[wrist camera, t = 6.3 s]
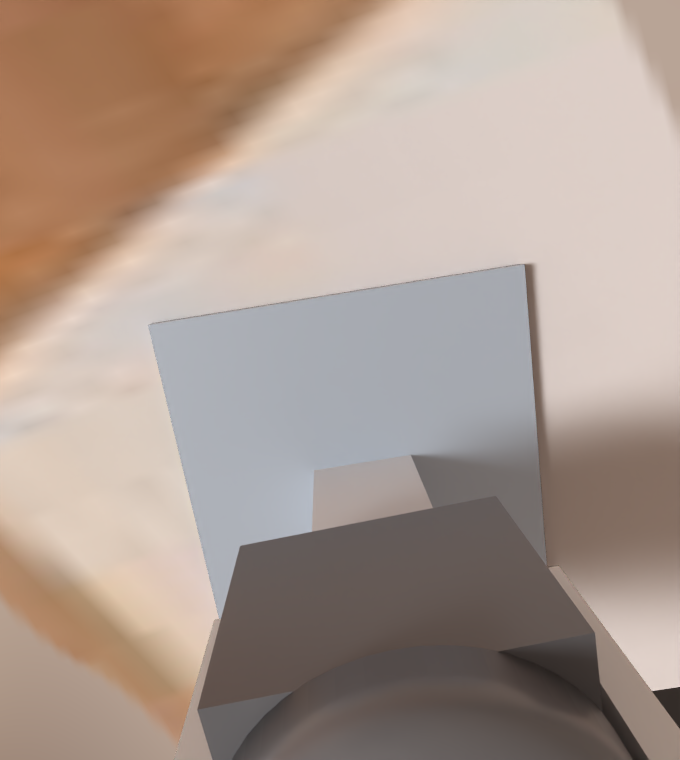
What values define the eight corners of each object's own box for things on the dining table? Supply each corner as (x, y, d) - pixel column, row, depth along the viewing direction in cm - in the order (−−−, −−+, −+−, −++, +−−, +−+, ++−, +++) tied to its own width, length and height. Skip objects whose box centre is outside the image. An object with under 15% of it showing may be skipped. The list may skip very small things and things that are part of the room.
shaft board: (151, 323, 19) (94, 350, 14) (520, 263, 19) (587, 271, 14) (242, 699, 23) (221, 820, 18) (549, 651, 23) (610, 759, 18)
